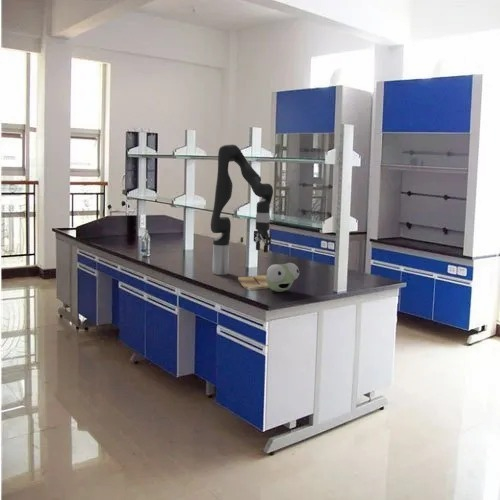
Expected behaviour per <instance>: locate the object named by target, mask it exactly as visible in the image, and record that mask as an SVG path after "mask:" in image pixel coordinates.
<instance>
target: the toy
mask: <svg viewBox="0 0 500 500" xmlns="http://www.w3.org/2000/svg"><path fill="white" fill-rule="evenodd" d="M299 269H300V268H299V267H298V266H297V265H296V264H295V263H292V262H286V263H283V264H282V263H280V264H277V263H275V264H271V265H270V266H269V267H268V268H267V270H266V274H265V275H266V282H267V284H268V286H269V287H270V288H269V289H270V290H272V291H273V292H277V293H284V292H285V291H288V290H289V289H290V288H291V286H292V285H293V284H294V281H296V280H297V279H298V277H299V276H300V270H299Z"/></svg>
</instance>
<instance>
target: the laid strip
mask: <svg viewBox="0 0 500 500" xmlns="http://www.w3.org/2000/svg"><path fill="white" fill-rule="evenodd" d="M244 289H246V290H248V291H255V290H256V291H257V290H265V289H271V288H270V287H269V286H268V284H263V285H253V286H246V287H245V288H244Z"/></svg>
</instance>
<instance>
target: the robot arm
mask: <svg viewBox="0 0 500 500" xmlns="http://www.w3.org/2000/svg"><path fill="white" fill-rule="evenodd" d="M230 162H234V163H236V164H237V165H238V167H239V168H240V173H241V176H242V177H243V179H244V180H245V181H246V182H247V183H248V184H249V185H250V188H251V190H252V193H254V195H255V196H256V197H260V198H261V199H260V200H259V201H258V202H256V214H255V230H253V242H254V243H255V250H256V251H260V250H261V242H262V243H263V253H268V252H269V246H270V245H271V244H272V233H268V231H269V230H270V229H271V228H270V227H271V226H270V225H271V224H270V223H271V215H270V213H271V212H270V211H271V209H270V207H271V206H270V205H271V203H272V199H273V195H274V187H273V185H272V184H271V183H262V178H261V176H260V175H259V174H258V172H256V171H255V169H254V168H253V167H252V166H251V164H250V162H249V161H248V160H247V158H246V157H245V156H244V154H243V152H242V151H241V149H240V148H239V147H238V146H237V145H235V144H223V145H221V146H220V147H219V149H218V154H217V177H216V185H215V194H214V203H213V209H212V210H213V211H212V214H211V219H210V230H211V232H212V233H213V234H220V235H219V236H218V237H216V238H214V239H213V240H212V270H211V271H212V272H211V273H212V274H213V275H217V276H224V275H225V276H226V275H228V274H229V261H230V260H229V258H230V256H229V255H230V239H231V223H232V222H231V219H230V217H228V216H221V214H222V211H223V209H224V208H225V206H226V205H227V204H228V203H229V201H230V200H231V198H232V193H233V181H232V179H231V177H230V173H229V163H230Z"/></svg>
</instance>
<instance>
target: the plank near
mask: <svg viewBox="0 0 500 500" xmlns="http://www.w3.org/2000/svg"><path fill="white" fill-rule="evenodd" d="M237 280H238V282H239V283H240V284H241V285H242V287H243V288H244V289H245V287H246V286H253V285H259V284H258V283H257V282H256V281H255V279H254V278H253V275H250V276H238V277H237Z"/></svg>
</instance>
